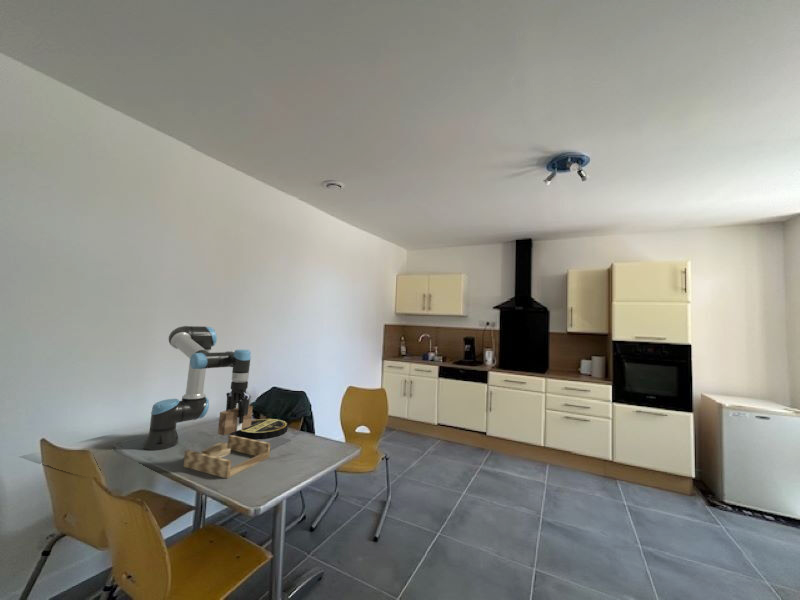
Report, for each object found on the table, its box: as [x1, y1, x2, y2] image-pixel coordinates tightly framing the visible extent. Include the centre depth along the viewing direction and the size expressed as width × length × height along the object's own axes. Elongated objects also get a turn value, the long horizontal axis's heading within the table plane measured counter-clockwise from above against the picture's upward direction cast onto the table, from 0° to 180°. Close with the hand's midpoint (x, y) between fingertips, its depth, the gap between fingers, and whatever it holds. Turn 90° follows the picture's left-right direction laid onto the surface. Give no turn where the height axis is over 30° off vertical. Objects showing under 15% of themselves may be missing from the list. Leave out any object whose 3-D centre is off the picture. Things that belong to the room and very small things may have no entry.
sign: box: [235, 418, 289, 441], centre depth 200 cm, size 30×4×30 cm
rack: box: [183, 434, 271, 479], centre depth 155 cm, size 27×26×7 cm
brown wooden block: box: [217, 405, 254, 436], centre depth 156 cm, size 4×16×10 cm, turn 160°
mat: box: [266, 436, 292, 451], centre depth 179 cm, size 10×20×1 cm, turn 160°
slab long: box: [215, 448, 232, 458], centre depth 158 cm, size 4×16×3 cm, turn 161°
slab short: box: [201, 442, 228, 456], centre depth 158 cm, size 4×12×3 cm, turn 170°
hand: (235, 429), depth 155 cm, fingers closed on brown wooden block, 4 cm apart
